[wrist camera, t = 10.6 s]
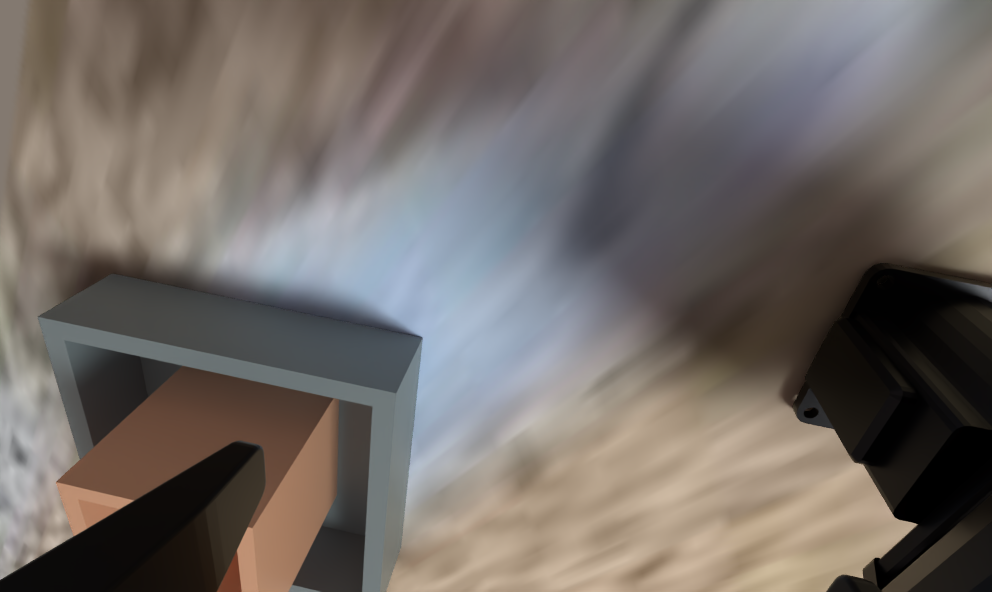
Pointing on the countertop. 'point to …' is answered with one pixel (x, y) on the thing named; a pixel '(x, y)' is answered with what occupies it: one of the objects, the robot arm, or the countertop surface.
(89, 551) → the robot arm
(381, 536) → the large crate
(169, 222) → the countertop surface
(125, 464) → the small crate
